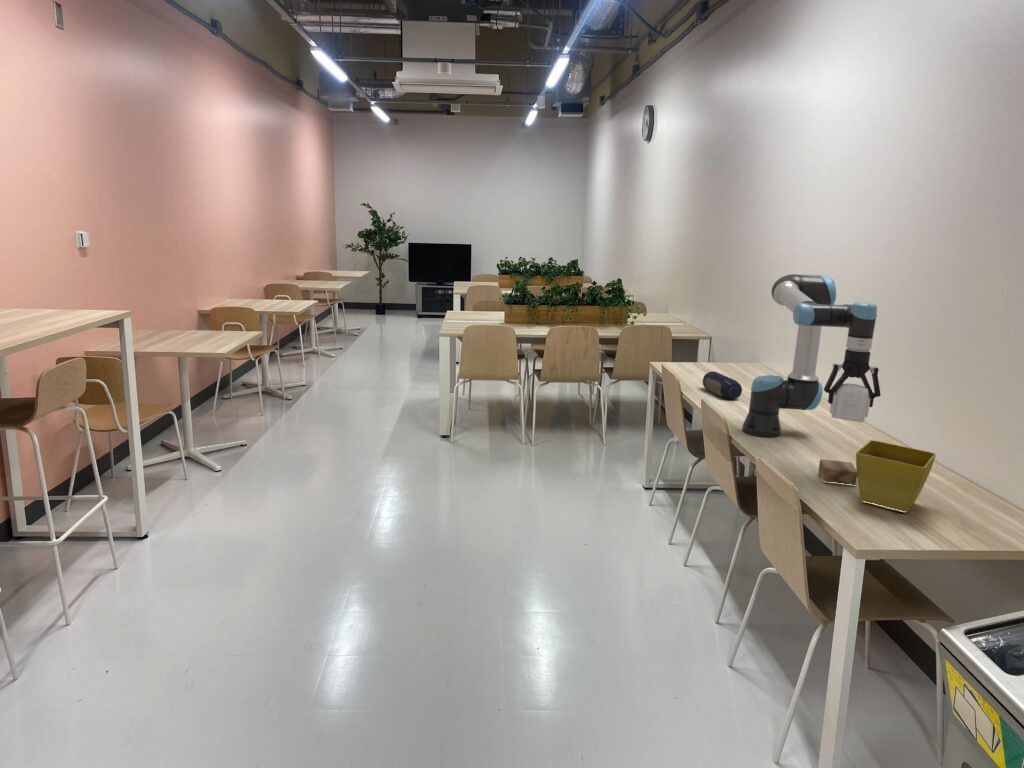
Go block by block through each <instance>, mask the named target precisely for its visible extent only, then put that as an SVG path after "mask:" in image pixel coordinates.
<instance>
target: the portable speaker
mask: <svg viewBox="0 0 1024 768" xmlns="http://www.w3.org/2000/svg"><path fill="white" fill-rule="evenodd" d="M702 386H703V387H704V388H705V390H707V391H709V392H711V393H713V394H715V395H718V396H720V397H722V398H723V399H726V400H729V401H730V400H731V401H733V400H736V399H738V398H740V397H741V395H742V393H743V388H742V385H741V384H740V383H739V382H738V381H737V380H736V379H734V378H731V377H729V376H727V375H724V374H723V373H719V372H717V371H708V372H707V373H705V374H704V376H703V377H702Z"/></svg>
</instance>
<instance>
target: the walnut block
mask: <svg viewBox="0 0 1024 768" xmlns="http://www.w3.org/2000/svg"><path fill="white" fill-rule="evenodd" d="M817 472H819V473H818V475H819V474H820V475H819V477H820V476H821V477H822V479H823V481H826V482H837V483H844V484H852V485H856V484H857V469H856V467H855V466H854V464H853V463H852V462H849V461H840V460H831V459H830V460H829V459H822V458H820V459H819V466H818V471H817ZM821 477H820V478H821ZM822 479H821V480H822ZM823 481H822V482H823Z"/></svg>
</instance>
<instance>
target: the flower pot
mask: <svg viewBox="0 0 1024 768" xmlns="http://www.w3.org/2000/svg"><path fill="white" fill-rule="evenodd" d="M936 457H937V454H936V453H935V452H932V451H927V450H923V449H917V448H912V447H908V446H904V445H898V444H893V443H888V442H884V441H880V440H874V439H873V440H872V439H871V440H869V441H868V442H866V444H864V445H862V447H861V448H860V449H858V450H857V451H856V454H855V461H856V463H855V466H856V467H855V469H856V471H857V479H856V481H857V485H858V490H859V491H858V492H859V496H860V501H861V500H863V501H866V502H870V503H875V504H878V505H883V506H886V507H890V508H894V509H898V510H902V511H908V512H909V510H910V509H911V508H912V507H913V505H914V504H915V502H916V501H917V499H918V498H919V496H920V493H921V492H922V490H923V489H924V486H925V484H926V482H927V480H928V478H929V475H930V473H931V470H932V467H933V465H934V461H935V459H936ZM911 506H912V507H911ZM910 507H911V508H910Z"/></svg>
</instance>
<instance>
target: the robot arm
mask: <svg viewBox="0 0 1024 768" xmlns="http://www.w3.org/2000/svg"><path fill="white" fill-rule="evenodd" d="M770 294H771V297H772V299H773V300H774V302H776V303H777V305H781V306H785V308H787V309H788V310H789V311H790V312H791V313H792V319H793V322H794V324H795V325H798V327H797V334H796V343H795V349H794V358H793V364H792V371H791V372H790V373H789V374H788V375H787V380H786V379H784V378H783V377H782V376H781V375H774V374H773V375H772V374H765V375H760V376H756V377H755V378H754V379H753V380H752V384H751V388H750V391H751V392H750V399H749V400H750V401H749V406H748V407H749V409H748V412H747V415H746V417H745V419H744V421H743V423H742V427H741V430H742V431H743V432H744V433H746V434H748V435H752V436H754V437H755V436H756V437H760V438H761V437H762V438H776V437H779V436H781V435H782V426H781V422H780V415H779V414H780V409H784V410H798V411H799V410H801V411H812V410H814V409H817V408H818V406H819V404H820V403H821V400H822V398H823V397H822V396H823V391H824V392H825V393H827V394H828V400H827V403H828V404H829V405H830V406H829V407H830V408H829V413H830V414H831V415H832V414H834V409H835V402H836V395H835V392H836V391H837V390H838V389H839V387H840V386H841V385H842V384H845V381H846V380H847V379H848V378H857V379H861V382H862V383H863V386H864V387H866V388H867V389H868V392H869V397H868V403H867V409H866V414H865V418H868V417H869V409H870V408H872V407H873V406H874V399H875V398H877V397H878V398H879V397H881V394H882V393H881V388H880V382H879V377H878V376H879V375H878V374H879V370H880V369H879V368H878V367H877V366H870V358H871V350H872V344H873V337H874V332H875V326H876V320H877V317H878V314H877V313H878V306H877V305H876V304H875V303H870V302H863V301H857V302H854V303H853V304H847V303H845V304H835V303H836V301H837V300H836V299H837V288H836V284H835V281H834V279H833V278H832V277H830V276H828V275H821V274H818V275H817V274H797V273H796V274H793V273H792V274H787V275H784V276H781V277H779V278H778V279H777V280H776V281H775V282H774V284H773V285H772V287H771V293H770ZM822 327H831V328H848V332H847V339H846V344H845V348H846V349H845V352H844V358H843V359H844V360H843V362H842V364H840V363H839V364H838V363H832V371H831V372H830V375H829V377H828V379H827V381H826V383H825V385H824V388H823V385H822V383H821V382H820V381H819V377H818V376H817V375H816V369H817V363H818V356H819V349H820V341H821V334H822ZM841 369H842V370H843V373H842V374H841V376H840V377H839V378H838V379H837V381H836V382H835V380H836V377H837V375H838V373H839V371H840V370H841ZM868 372H870V373H871V377H872V379H871V380H872V384H873V389H874V392H873V390H872V387H871V386H870V382H869V381H868V378H867V376H866V374H867V373H868ZM834 382H835V383H834ZM833 383H834V384H833ZM832 385H833V386H832Z"/></svg>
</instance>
